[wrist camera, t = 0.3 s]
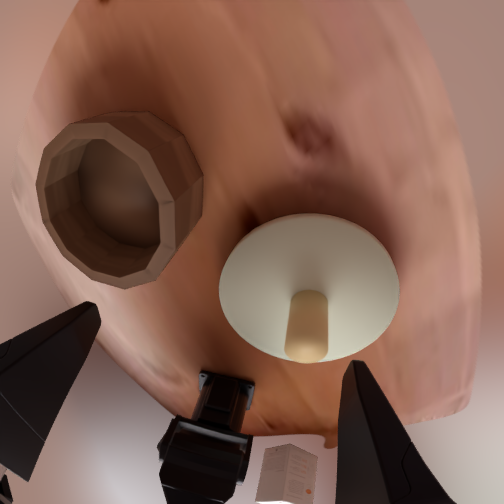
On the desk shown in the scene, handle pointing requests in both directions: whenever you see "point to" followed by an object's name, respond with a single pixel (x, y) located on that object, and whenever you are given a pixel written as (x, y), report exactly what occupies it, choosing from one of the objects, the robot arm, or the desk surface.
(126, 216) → the box
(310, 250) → the lid
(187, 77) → the desk surface
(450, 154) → the desk surface
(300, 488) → the small box
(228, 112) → the desk surface
